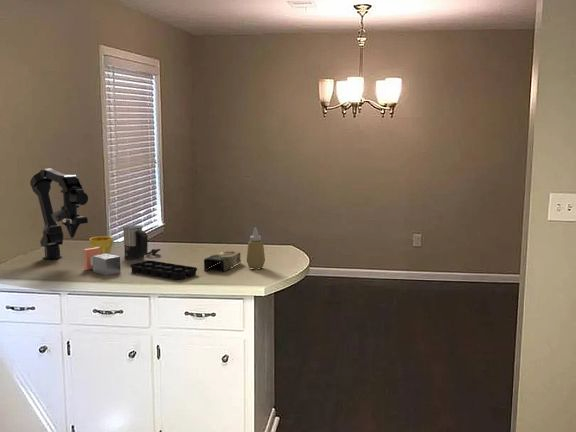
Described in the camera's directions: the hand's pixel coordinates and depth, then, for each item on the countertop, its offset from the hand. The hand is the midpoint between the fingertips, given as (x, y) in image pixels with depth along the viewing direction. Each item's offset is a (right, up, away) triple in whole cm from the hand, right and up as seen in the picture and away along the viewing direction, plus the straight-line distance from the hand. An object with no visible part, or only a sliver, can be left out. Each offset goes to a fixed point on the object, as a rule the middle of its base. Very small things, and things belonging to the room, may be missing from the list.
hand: (72, 237), depth 305 cm
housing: (+20, -14, -15) cm, 29 cm away
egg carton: (+44, -15, -18) cm, 50 cm away
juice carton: (+69, -13, -6) cm, 70 cm away
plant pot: (+10, -11, +12) cm, 19 cm away
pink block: (+15, -13, -11) cm, 23 cm away
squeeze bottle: (+83, -13, -9) cm, 85 cm away
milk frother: (+28, -10, +17) cm, 34 cm away
